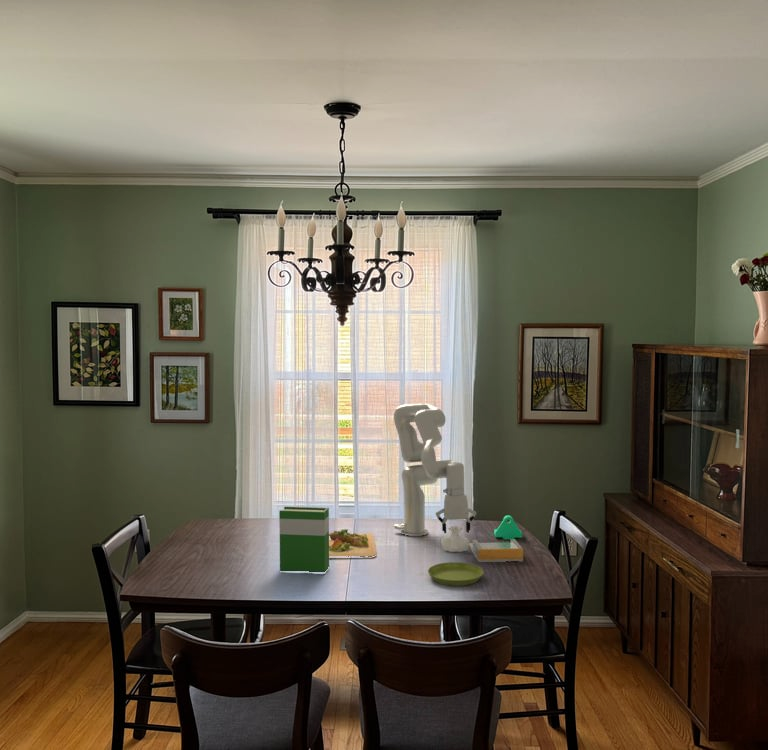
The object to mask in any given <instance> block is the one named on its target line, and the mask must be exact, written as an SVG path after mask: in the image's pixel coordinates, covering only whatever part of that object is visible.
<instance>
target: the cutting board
mask: <svg viewBox="0 0 768 750" xmlns="http://www.w3.org/2000/svg"><path fill="white" fill-rule="evenodd" d="M348 531H349V529H347V528H346V529H345V528H343V529H340V531H337V530H334V531H333V532H329V536H330V538H331V540H329V556H348V557H349V556H360V557H365V556H368V557H372V556H375V555H377V548H376V547H377V546H376V541H374V540H375V536H373V534H374V533H370V532H366V533H365V532H363V533H361V532H359V533H358V532H356V533H355V532H354V533H353V534H352V533H351V532H348Z"/></svg>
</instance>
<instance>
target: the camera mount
mask: <svg viewBox="0 0 768 750" xmlns="http://www.w3.org/2000/svg"><path fill="white" fill-rule="evenodd" d="M508 520H509V522H508ZM493 531H494V532H493V534H494V537H495V538H502V539H503V540H511V539H515V538H523V532H522V530H521V529H520V528H519V526H518V525H517V524H516V522H515V520H514V518H513V517H512V515H505V516H504V517H503V518H502V521H501V522H500V524H499V526H498V527H497V529H494V530H493Z"/></svg>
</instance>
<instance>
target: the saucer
mask: <svg viewBox="0 0 768 750" xmlns="http://www.w3.org/2000/svg"><path fill="white" fill-rule="evenodd" d="M427 573H428V574H429V576H430V577H431V578H432V580H434V581H435V582H436V583H438V584H441V585H445V586H451V587H453V586H455V587H462V586H469V585H473V584H475V583H476V582H478V581H479V580H480V579H481V578H482V577H483V575H484V569H483V568H482V567H480V566H478V565H475V564H472V563H468V562H460V561H459V562H457V561H455V562H453V561H452V562H442V563H437V564H434V565H431V566H430V567H428V569H427Z"/></svg>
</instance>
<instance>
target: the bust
mask: <svg viewBox="0 0 768 750" xmlns="http://www.w3.org/2000/svg"><path fill="white" fill-rule="evenodd" d="M448 530H449V531H450V532H449V533H450V534H451V535H448V536H445V537H443V538H442V539H441V540H440V542H441V547H442V549H443V550H444V551H446V552H450V553H453V552H455V553H462V552H466V551H468V549H469V548H470V546H469V543H470V540H469V538H467V537H464V536H461V535H459V534H460V533H461V532H460V531H462V530H463V528H462V527H459V526H458V525H452V526H450V527H448Z"/></svg>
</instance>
